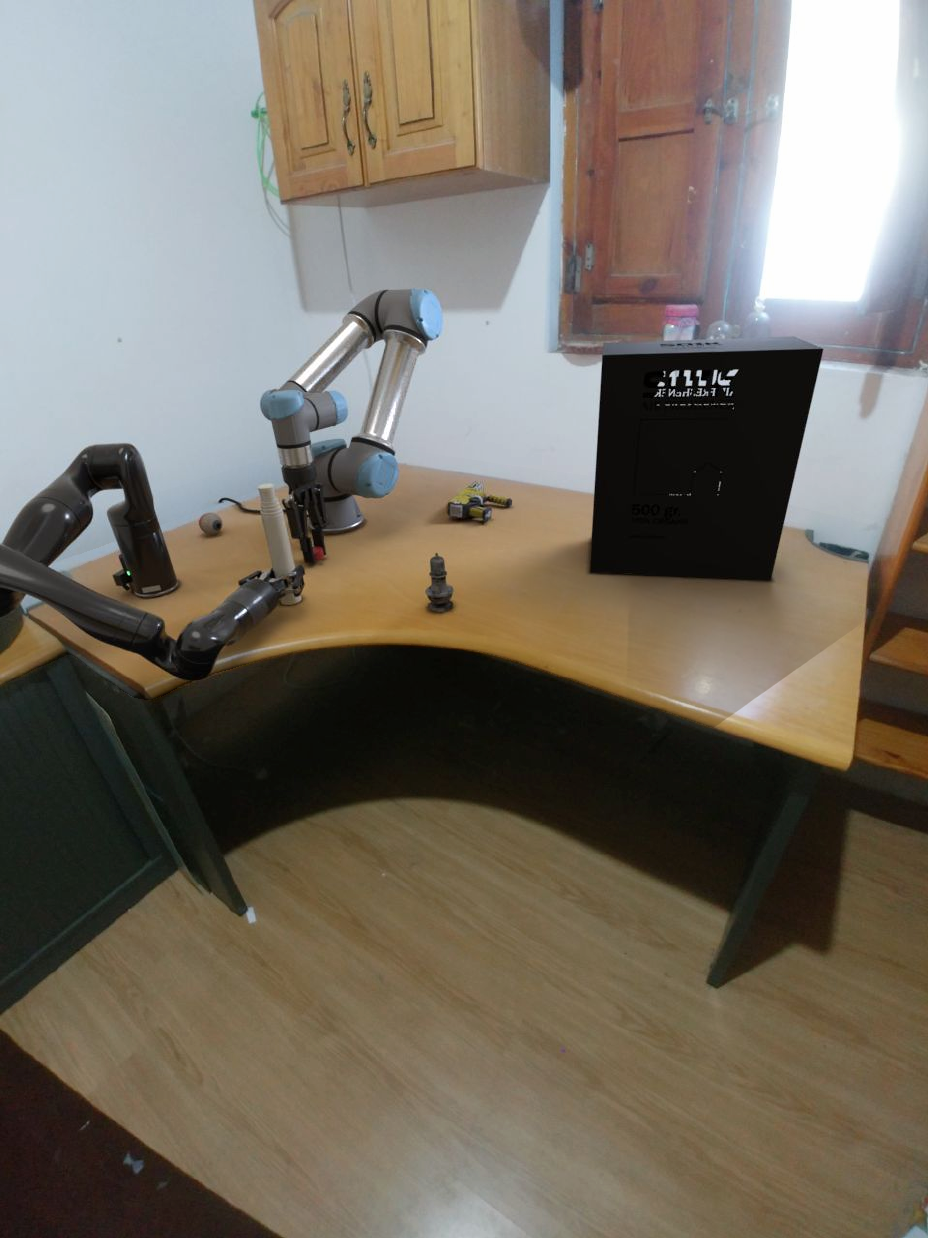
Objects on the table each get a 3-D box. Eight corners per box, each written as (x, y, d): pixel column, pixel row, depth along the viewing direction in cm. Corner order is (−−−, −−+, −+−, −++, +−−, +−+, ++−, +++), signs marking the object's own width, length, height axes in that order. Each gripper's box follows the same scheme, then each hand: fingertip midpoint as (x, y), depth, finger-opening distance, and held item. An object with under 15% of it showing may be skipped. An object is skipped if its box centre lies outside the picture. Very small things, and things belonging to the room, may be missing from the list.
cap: (304, 556, 149) (303, 548, 148) (321, 552, 150) (320, 544, 149) (308, 562, 145) (307, 554, 144) (326, 558, 147) (324, 550, 146)
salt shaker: (451, 613, 122) (447, 559, 116) (423, 611, 123) (418, 558, 117) (457, 599, 127) (454, 547, 121) (430, 598, 128) (425, 546, 122)
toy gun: (520, 486, 181) (473, 479, 185) (498, 510, 161) (445, 501, 165) (519, 501, 183) (472, 494, 187) (496, 526, 163) (445, 518, 167)
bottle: (287, 594, 134) (262, 481, 121) (305, 596, 132) (281, 482, 120) (276, 604, 130) (249, 488, 117) (295, 605, 129) (269, 489, 116)
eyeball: (212, 539, 164) (206, 518, 161) (197, 535, 167) (191, 515, 164) (230, 531, 169) (224, 511, 166) (215, 528, 172) (210, 508, 169)
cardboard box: (751, 542, 144) (793, 336, 122) (770, 580, 127) (823, 348, 105) (591, 537, 152) (603, 342, 130) (589, 572, 135) (602, 354, 112)
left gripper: (221, 619, 120) (266, 581, 134) (286, 625, 116) (324, 585, 130) (211, 585, 116) (258, 550, 130) (278, 591, 113) (318, 553, 127)
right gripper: (305, 453, 144) (321, 543, 156) (260, 473, 131) (281, 571, 142) (332, 454, 142) (346, 546, 154) (288, 475, 128) (308, 574, 140)
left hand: (291, 568), depth 130 cm, fingers closed on bottle, 4 cm apart
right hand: (315, 558), depth 148 cm, fingers closed on cap, 4 cm apart
